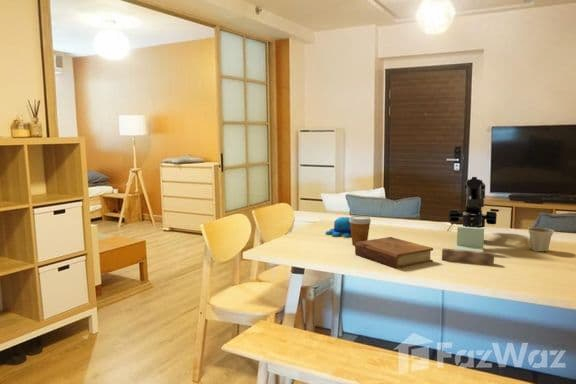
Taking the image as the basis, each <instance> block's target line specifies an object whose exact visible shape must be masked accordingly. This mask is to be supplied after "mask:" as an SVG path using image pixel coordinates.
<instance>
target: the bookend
mask: <svg viewBox="0 0 576 384" xmlns="http://www.w3.org/2000/svg"><path fill="white" fill-rule="evenodd" d="M456 230H457V232H456V235H457V236H456V245H455V246H456V247H455V249H457V250H468V251H479V252H484V244H485V243H484V241H485V240H484V239H485V227H483V228H482V227H481V228H476V227H465V226H459V225H458V226H457V229H456Z"/></svg>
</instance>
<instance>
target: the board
mask: <svg viewBox="0 0 576 384" xmlns="http://www.w3.org/2000/svg"><path fill="white" fill-rule="evenodd" d="M441 261H447V262H459V263H469V264H479V265H488V266H494V265H495V264H494V263H495V262H494V261H495V252H491V251H490V252H489V251H483V252H479V251H468V250H457V249H456V248H454V249H453V248H444V247H443V248H442V249H441Z"/></svg>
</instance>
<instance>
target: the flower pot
mask: <svg viewBox="0 0 576 384" xmlns="http://www.w3.org/2000/svg"><path fill="white" fill-rule="evenodd" d="M527 231H528V234H529V243H530V250H531V249H532V250H531V251H533V250H534V252H537V251H543V252H544V251H547V252H548V251H549V247H550V244H551V239H552V236H553V234H554V233H555V231H554V230H553V229H549V228H545V227H544V228H543V227H529V228H527Z"/></svg>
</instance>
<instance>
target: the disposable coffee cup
mask: <svg viewBox="0 0 576 384" xmlns="http://www.w3.org/2000/svg"><path fill="white" fill-rule="evenodd" d="M349 218H350V220H349V222H350V228H351V236H350V237H351V243H352V244H351V245H352V246H354V247H355V244H356V243H357V242H360V241H367V240H369V233H370V232H369V231H370V225H371V222H372V220H371V217H369V216H368V215H367V216H365V215H353V216H352V215H351V216H350V217H349Z"/></svg>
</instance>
